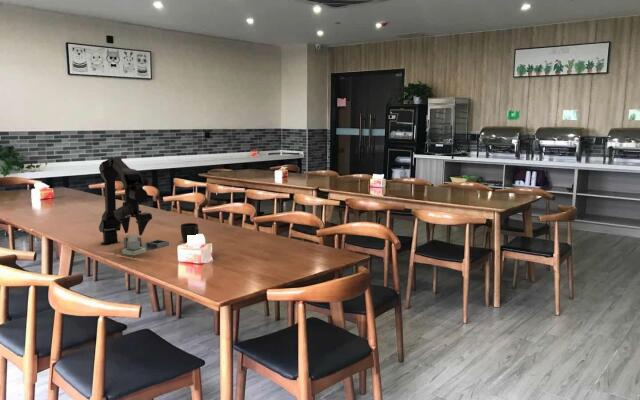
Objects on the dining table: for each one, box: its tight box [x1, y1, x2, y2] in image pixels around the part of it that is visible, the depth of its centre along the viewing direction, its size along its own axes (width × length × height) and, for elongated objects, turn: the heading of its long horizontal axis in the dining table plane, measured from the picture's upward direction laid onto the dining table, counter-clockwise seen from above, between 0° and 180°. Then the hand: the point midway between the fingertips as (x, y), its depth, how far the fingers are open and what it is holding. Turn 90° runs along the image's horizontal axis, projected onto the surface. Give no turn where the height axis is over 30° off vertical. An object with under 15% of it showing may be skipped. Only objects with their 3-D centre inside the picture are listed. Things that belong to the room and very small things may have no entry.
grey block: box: [127, 234, 140, 251], centre depth 237 cm, size 4×4×8 cm
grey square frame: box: [120, 247, 147, 259], centre depth 237 cm, size 8×8×3 cm
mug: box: [180, 222, 200, 244], centre depth 258 cm, size 8×12×10 cm
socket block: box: [123, 236, 170, 252], centre depth 248 cm, size 14×15×6 cm
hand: (133, 234), depth 236 cm, fingers open, 9 cm apart
